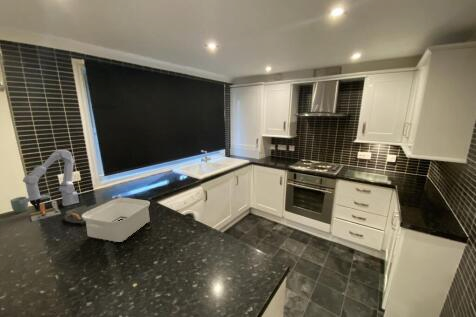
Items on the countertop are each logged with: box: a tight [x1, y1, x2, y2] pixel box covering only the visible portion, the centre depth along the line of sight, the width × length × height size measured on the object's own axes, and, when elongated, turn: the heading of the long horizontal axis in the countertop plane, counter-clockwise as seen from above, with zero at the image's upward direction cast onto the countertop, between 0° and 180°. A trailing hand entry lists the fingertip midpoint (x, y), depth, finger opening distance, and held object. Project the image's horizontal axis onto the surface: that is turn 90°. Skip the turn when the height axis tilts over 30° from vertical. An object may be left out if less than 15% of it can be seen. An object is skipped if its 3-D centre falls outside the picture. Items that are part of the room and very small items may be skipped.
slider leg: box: [39, 202, 47, 215], centre depth 138 cm, size 2×11×6 cm, turn 50°
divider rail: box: [30, 200, 59, 217], centre depth 138 cm, size 14×11×6 cm
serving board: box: [64, 196, 122, 226], centre depth 142 cm, size 39×23×6 cm, turn 156°
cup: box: [10, 196, 29, 213], centre depth 141 cm, size 8×8×10 cm
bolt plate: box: [30, 209, 62, 222], centre depth 136 cm, size 14×8×1 cm, turn 139°
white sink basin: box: [82, 197, 151, 243], centre depth 118 cm, size 34×29×15 cm
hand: (37, 209), depth 138 cm, fingers closed
